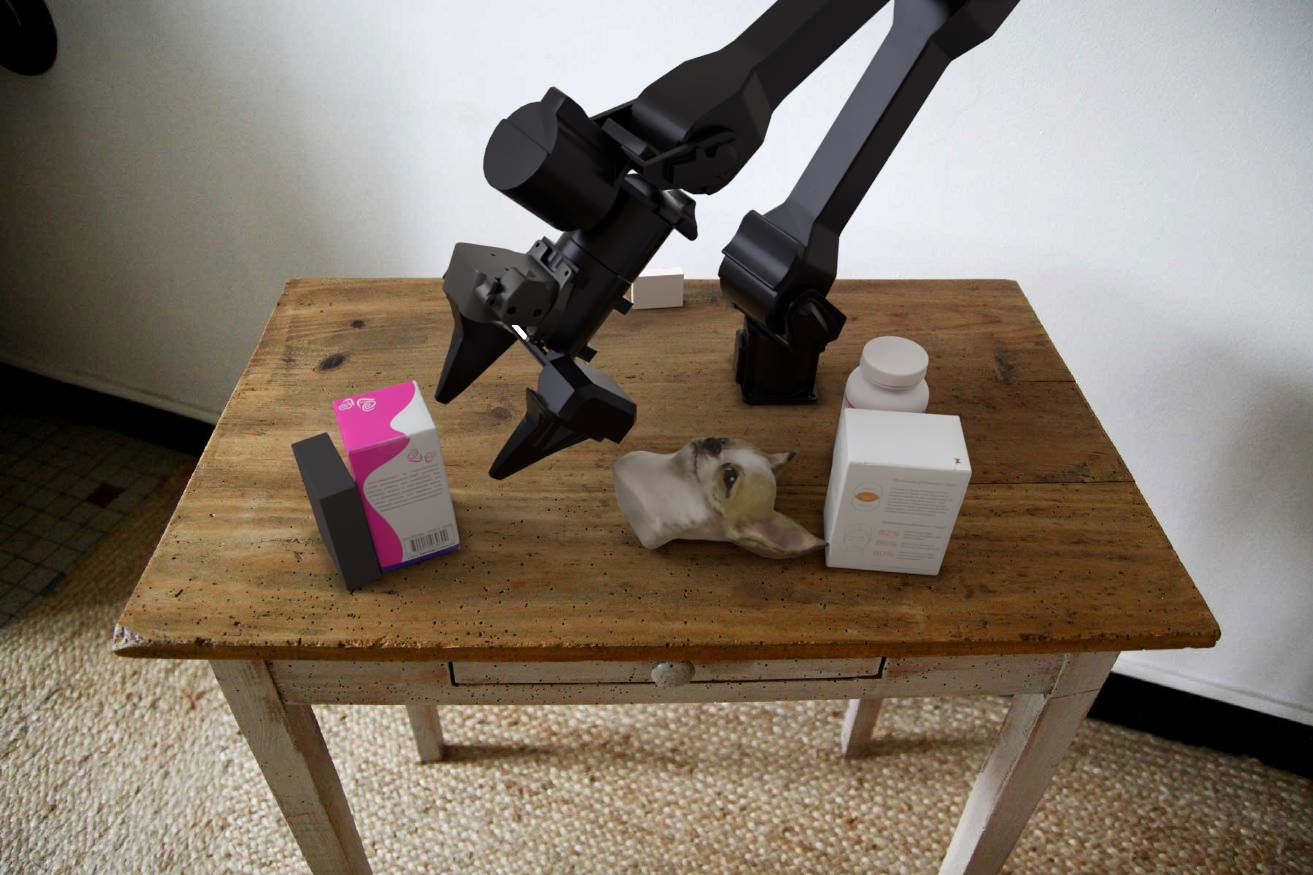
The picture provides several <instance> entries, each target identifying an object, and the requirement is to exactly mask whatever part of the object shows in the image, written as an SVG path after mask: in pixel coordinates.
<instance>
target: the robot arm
mask: <svg viewBox="0 0 1313 875" xmlns="http://www.w3.org/2000/svg"><path fill="white" fill-rule="evenodd" d="M891 1H892V0H776V1H775V2H774V3H773V4H771V5H770V6H769V7H768V8H767V9H766V10H765V11H764V12H762V14H761V15H760V16H759V17H758V18H756V19H755V20H754V21H753V22H752V23H751V24H750V25H749V26H748V27H747V28H746V29H744V30H743V31H742V32H741V33H740V34H739V35H738V36H737V37H736V38H735V39H734V40H732V41H731V42H729V43H727V44H726V45H725V46H723V47H722V48H720V49H719V50H716V51H712V52H710V53H709V52H708V53H707V54H706V53H705V54H702V55H700V56H696V57H692V58H689V59H687V60H684V61H683V62H681V63H679V64H678V65H677V66H675V67H673V68H672V69H670V70H669V71H668V72H666V73H664V74H663V75H662V76H660V77H659V78H657V79H656V80H654V81H653V82H651V83H650V84H648V85H647V86H646V87H645V88H644V89H643V90H642V91H641V92H640V94H638V96H637V97H636V98H633V99H631V100H628V101H626V102H623V103H621V104H619V105H616V106H614V107H612V108H609V109H607V110H604V111H602V112H599V113H597V114H594V115H592V116H588V114H587V112H586V110H584V108H583V106H581V104H579V103H578V102H576V101H575V100H574V99H573V98H572V96H569V95H568V94H566V93H565V92H564V91H562V90H560V89H559V88H558V87H557V86H554V85H553V86H550V87H548V89H547V91H546V92H545V94H544V95H543V96H542V98H541V99H540V100H539V101H533V102H528V103H526V104H524V105H522V106H520V107H518V108H517V109H516V110H514V111H513V112H512V113H510V115H509V116H508V117H506V118H502V119H501V120H500V121H499V122H498V124H497V125H496V126H495V128H494V130H493V131H492V133H491V135H490V136H489V139H488V140H487V141H488V142H487V143H486V147H485V150H484V154H483V159H482V161H483V162H482V171H483V175H484V178H485V180H486V183H487V184H488V185H489V186H490V187H491V188H493V189H494V190H496V191H497V192H499V193H501V194H502V195H503V196H504V197H506V198H508V199H510V200H511V201H512V202H514V203H515V204H517V205H518V206H520V207H521V208H523V209H524V210H526V211H528V212H529V213H531V215H533V216H535V217H536V218H538V219H539V220H541V221H542V222H544V223H546V224H547V225H549V226H550V227H552V228H553V229H555V230H557V231H559V232H562V233H561V235H560V236H559V237H558V239H557V240H556V241H553V240H552V239H550V238H549V237H547V236H546V235H543V236H542V238H541V239H537V240H535V241H534V243H533V245H532V246H531V247H530V249H529V250H528V251H526V252H525V253H524V252H518V251H514V250H512V249H509V248H506V247H505V248H504V247H498V246H491V245H486V244H485V245H484V244H477V243H470V242H465V241H464V242H463V241H460V242H456V243H454V248H453V250H452V254H451V257H450V260H449V264H448V268H447V269H446V271H445V272H444V274H443V275H442V277H441V278H442V279H443V282H442V283H443V284H442V287H441V290H442V291H443V293H444V295H445V298H446V300H448V303H449V306H450V309H451V313H452V318H453V322H454V323H453V324H454V326H453V331H452V335H451V339H450V342H449V347H448V350H447V354H446V357H445V360H444V363H443V367H442V370H441V373H440V377H439V380H438V383H437V386H436V390H435V394H434V399H435V401H436V402H437V403H439V404H442V405H445V406H447V405H449V404H450V403H451V402H452V401H454V399H456V398H457V397H458V396H460V395H461V394H462V393H463V392H464V391H466V390H467V389H468V388H469V387H470V386H471V385H472V384H473V383H474V382H475V381H476V380H477V379H478V378H479V377H480V376H481V375H483V374H484V372H486V371H487V370H488V369H489V368H490V367H491V366H492V365H493V364H494V363H495V362H496V361H497V360H498V359H499V358H500V357H502V356H503V355H504V354H505V353H506V352H507V351H508V350H509V349H510V348H511V347H512V346H513V345H514V344H516V342H517V341H519V342H520V344H522V345H523V346H524V348H525V349H526V350H527V351H528V352H529V354H530V355H531V356H532V357H533V358H534V359H535V360H536V362H537V363H538V364H539V365H540V366H541V368H542V369H541V371H540V372H539V374H538V382H537V390H534V389H532V388H530V387H528V386H527V387H526V388H525V400H526V401H525V402H526V404H525V405H526V412H525V414H524V415H523V417H522V418H521V420H520V421H519V423H518V424H517V425H516V427H515V429H514V431H513V432H512V433H511V435H510V436H509V438H508V439H507V441H506V442H505V444H504V445H503V447H501V449H500V451H499V452H498V454H497V455H496V457H495V459H494V461H493V462H492V465H491V466H490V468H489V470H488V473H487V474H488V476H489V478H491V479H493V480H497V481H503V480H505V479H508V478H509V477H510V476H512V475H515V474H517V473H519V472H520V471H523V470H524V469H526V468H528V467H530V466H532V465H533V464H536V463H538V462H540V461H542V460H543V459H545V458H547V457H550V456H551V455H553V454H555V453H558V452H561V451H562V450H565V449H567V448H568V449H569V448H570V447H572V446H575V445H577V444H580V443H582V442H585V441H587V440H593V441H595V442H597V443H602V442H604V440H608V441H611V442H613V443H615V444H618V445H620V444H621V442H622V441H624V439H625V437H626V436H627V435H628V434H629V432H630V431H631V429H632V428H633V427H634V426H635V424H636V422H637V421H638V406H637V405H638V404H637V403H636V402H635V401H634V400H633V399H632V398H631V397H630V396H629V395H628V393H627V392H626V391H624V389H623V388H622V387H621V386H620V385H619V384H618V383H617V382H616V381H615V380H614V379H613V378H612V376H609V375H608V374H606V373H604V372H602V371H600V370H598V369H596V368H594V367H592V366H590V365H588V364H590V363H591V362H592V360H593V359H594V358H595V356H596V355H597V354H598V350H597V349H596V348H595V347H594V346H593V345H592V344H591V343H590V342H591V340H592V339H593V338H594V336H595V335H596V334H597V332H598V331H599V330H600V328H601V327H602V325H603V324H605V322H606V320H607V319H608V318H609V316H610V315H611V313H612V312H613V311H614V310H615V311H617V312H618V313H620V314H622V315H623V316H626V315H627V314H628V313H629V311H630V310H631V308H633V307H632V306H633V303H632V302H631V301H632V300H631V299H629V298H628V297H627V295H626V294H627V293H628V291H629V290H630V289H631V288H632V283H634V282H635V280H636V279H637V278H638V276H639V275H640V274H641V272H642V271H643V270H644V269H645V268H646V267H647V266H648V264H649V263H650V262H651V261H652V259H653V258H654V256H655V255H656V253H658V251H659V250H660V249H661V247H662V246H663V245H664V243H665V242H666V241H667V239H668V238H669V237H670V236H671V234H672V233H673V231H674V230H675V231H676V232H678V233H679V234H680V235H681V236H683V237H684V238H686V239H687V240H688V241H690V242H694V241H696V240H697V239H698V236H699V231H698V222H697V219H696V207H697V201H696V199H694V198H693V197H691V196H690V195H696V196H697V195H706V196H709V197H710V196H713V195H715V194H717V193H719V192H720V191H722V190H723V189H724V188H725V187H727V186H728V185H730V183H731V182H733V180H734V179H735V178H736V176H738V174H740V172H741V171H742V170H743V168H744V167H745V166H746V165H747V164H748V162H749V161H750V160H751V159H752V158H753V156H754V155H755V154H756V153H757V151H759V149H760V148H761V147H762V145H763V144H764V142H765V139H766V136H767V133H768V129H769V126H770V124H771V119H772V117H773V114H774V112H775V111H776V109H777V108H778V107H779V106H780V105H781V103H783V101H785V99H786V98H787V97H788V96H789V95H791V94H792V92H794V91H795V90H796V89H797V88H798V87H799V86H800V85H801V84H802V83H803V82H804V81H806V79H808V78H809V77H810V76H811V75H812V74H813V73H814V72H815V71H816V70H817V69H819V68H820V66H822V65H823V64H824V63H825V62H826V61H827V60H828V59H829V58H830V57H831V56H833V55H834V54H835V53H836V52H837V51H838V50H839V49H840V48H841V47H842V46H843V45H844V44H846V43H847V42H848V41H849V40H850V39H851V38H852V37H853V36H854V35H855V34H857V32H858V31H859V30H861V29H862V28H863V27H864V26H865V25H866V24H867V23H868V22H869V21H871V19H872V18H873V17H874V16H875V15H877V14H878V13H879V12H880V11H881V10H882V9H884V7H885V6H886V5H887V4H888V3H889V2H891ZM1020 2H1021V0H893V8H892V21H891V26H890V28H889V30H888V32H887V34H886V36H885V37H884V39H883V41H882V42H881V44H880V45H879V47H878V49H877V50H876V52H875V54H874V55H873V57H872V58H871V60H870V61H869V63H868V65H867V67H866V68H865V70H864V71H863V73H862V75H861V76H860V78H859V80H858V82H857V83H856V85H855V86H854V88H853V90H852V91H851V93H850V94H849V96H848V98H847V99H846V101H845V102H844V104H843V106H842V108H841V109H840V111H839V112H838V114H837V116H836V117H835V119H834V121H833V123H832V124H831V126H830V127H829V129H828V131H827V132H826V134H825V136H824V137H823V139H822V140H821V142H820V144H819V145H818V147H817V149H816V150H815V152H814V154H812V157H811V158H810V160H809V161H808V163H807V165H806V167H805V169H804V170H803V172H802V173H801V174H800V176H799V177H798V180H797V181H796V183H795V185H794V186H793V188H792V190H791V191H790V193H789V194H788V196H787V197H786V198H785V200H784V202H782V203H780V204H779V205H776V206H775V207H773V208H771V209H770V210H768V211H767V212H765V213H763V214H761V213H760V212H758V211H757V210H755V209H750V210H749V211H748V212H747V213H745V215H744V216H743V217H742V219H741V221H740V224H739V226H738V228H737V230H736V231H735V234H734V236H733V237H732V238H731V240H730V241H729V242H728V243H727V244H726V245H725V246H724V247H723V248H722V249H721V254H722V255H724V256H723V258H722V260H721V263H720V264H719V267H718V270H717V277H718V278H719V288H720V290H721V293H722V294H723V296H725V297H726V298H727V299H728V300H729V301H730V304H731V305H730V306H731V307H732V308H734V309H735V310H738V311H739V312H740V313H742V314H743V315H744V317H743V325H742V328H737V330H736V331H735V338H734V339H735V341H734V349H733V357H732V358H733V360H732V370H733V377H734V383H735V384H736V385H737V386H739V390H740V396H741V401H742V402H743V403H745V404H815V403H817V402H818V401H819V393H818V389H817V386H816V378H817V372H818V367H819V361H820V355H821V354H822V353H824V352H826V348H827V346H828V344H830V343H832V342H834V341H836V340H838V339H839V337H840V335H841V332H842V330H843V328H844V326H845V324H846V322H847V319H848V316H847V315H846V314H844V313H843V312H842V311H841V310H840V309H838V308H837V307H836V305H834V304H833V303H832V302H830V300H829V299H827V296H828V295H829V293H830V291H831V288H832V287H833V284H835V281H836V280H837V279H836V278H837V275H838V267H839V266H838V264H839V253H840V252H839V249H840V237H841V235H842V233H843V231H844V229H845V228H846V227H847V224H848V223H849V221H850V220H851V219H852V217H853V215H854V214H855V213H856V210H857V209H858V207H859V206H860V204H861V203H862V201H863V199H864V198H865V197H866V195H867V193H868V192H869V190H870V189H871V187H872V185H873V184H874V182H875V181H876V179H877V178H878V176H879V174H880V173H881V171H882V170H883V168H884V167H885V165H886V164H887V162H888V161H889V159H890V157H891V156H892V154H893V152H894V151H895V149H896V148H897V146H898V145H899V143H900V142H901V140H902V138H904V136H905V134H906V132H907V130H908V129H909V128H910V126H911V124H912V123H913V121H914V119H915V118H916V116H917V115H918V113H919V112H920V110H921V109H922V107H923V106H924V104H925V102H926V100H928V98H929V96H930V95H931V93H932V91H933V90H934V88H935V87H936V85H937V84H938V81H939V80H940V79H941V77H942V76H943V74H944V73H945V71H946V69H947V68H948V67H949V66H950V64H951V63H952V62H953V61H955V60H956V59H958V58H959V57H962V56H963V55H965V54H966V53H968V52H969V51H971V50H973V49H974V48H976V47H978V46H979V45H981V44H983V43H984V42H986V41H988V40H989V39H991V38H992V37H993V36H994V35H995V34H996V32H997V31H998V30H999V29H1000V28H1001V26H1002V25H1003V24H1004V22H1005V21H1006V20H1007V19H1008V17H1009V16H1011V14H1012V12H1013V11H1014V9H1015V8H1016V7H1017V6H1018V4H1019V3H1020ZM631 171H633V173H632V172H631ZM630 172H631V173H630ZM687 193H688V194H690V195H688V194H687ZM546 350H547V351H546ZM576 358H578V359H576ZM579 359H581V360H582V361H583V362H582V361H581V360H579ZM584 362H586V363H588V364H586V363H584Z"/></svg>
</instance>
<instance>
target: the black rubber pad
mask: <svg viewBox="0 0 1313 875" xmlns="http://www.w3.org/2000/svg"><path fill="white" fill-rule="evenodd" d="M290 446H291V450H292V452H293V455H294V458H295V461H296V465H297V467H298V471H299V474H300V477H301V480H302V483H303V486H304V489H305V492H306V495H307V498H308V501H309V505H310V507H311V510H312V514H313V517H314V519H315V522H316V525H317V528H318V532H319V535H320V538H321V540H322V541H323V544H324V545H325V547H326V550H327V551H328V553H329V556H330V558H331V560H332V562H333V564H334V567H335V568H336V570H337V572H338V574H339V577H340V578H341V581H342V582H343V584H344V587H345V589H346V590H347V592H350V591H352V590H355V589H357V588H360V587H362V586H364V585H366V584H370V583H371V582H374V581H376V580H379V579H381V578H382V574H381V569H380V566H379V563H378V560H377V557H376V554H375V551H374V547H373V544H372V540H371V537H370V533H369V529H368V526H367V522H366V518H365V515H364V511H363V507H362V504H361V500H360V496H359V493H358V489H357V486H356V484H355V481H354V478H353V476H352V475H351V472H350V471H349V469H348V468H347V466H346V464H345V462H344V461H343V459H342V456H341V454H340V453H339V451H338V450H337V447H336V445H335V444H334V442H333V440H332V439H331V437H330V434H329V433H328V432H327V431H325V432H322V433H319V434H316V435H314V436H310V437H308V438H305V439H302V440H299V441H296V442H293V443H291V444H290Z"/></svg>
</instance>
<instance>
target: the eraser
mask: <svg viewBox="0 0 1313 875" xmlns="http://www.w3.org/2000/svg"><path fill="white" fill-rule="evenodd" d="M684 282H685V272H684V268H683V267H682V266H681V267H680V266H679V267H663V268H647V269H645V268H644V270H643V271H642V272H641V274H640V275H639V276H638V278H637V279H636V280H635V282H634V283H632V286H631V300H630V301H631V302H632V303H633V306H632V307H631V308H632V310H644V309H661V308H675V307H677V308H678V307H683V303H684V284H685V283H684Z"/></svg>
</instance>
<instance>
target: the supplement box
mask: <svg viewBox="0 0 1313 875" xmlns="http://www.w3.org/2000/svg"><path fill="white" fill-rule="evenodd" d="M332 406H333V411H334V414H335V418H336V422H337V425H338V428H339V432H340V436H341V440H342V443H343V446H344V450H345V453H346V456H347V460H348V464H349V467H350V471H351V474H352V479H353V480H354V482H355V484H356V486H357V489H358V493H359V496H360V500H361V504H362V507H363V511H364V515H365V518H366V522H367V526H368V529H369V533H370V537H371V540H372V544H373V548H374V551H375V555H376V558H377V562H378V566H379V569H380V572H382V573H387V572H391V571H393V570H397V569H400V568H403V567H407V566H410V565H413V564H416V563H418V562H423V561H426V560H429V559H432V558H435V557H438V556H441V555H442V556H443V555H445V554H447V553H451V552H455V551H459V550H461V542H460V535H459V530H458V526H457V520H456V514H455V510H454V505H453V501H452V496H451V490H450V486H449V482H448V476H447V470H446V465H445V461H444V456H443V451H442V446H441V441H440V435H439V432H438V431H439V430H438V426H437V424H436V422H435V420H434V418H433V415H432V414H431V412H430V409H429V407H428V404H427V403H426V400H425V398H424V396H423V394H422V392H421V390H420V387H419V385H418V383H417V380H411V381H407V382H404V383H403V382H402V383H400V384H396V385H392V386H387V387H385V388H380V389H376V390H372V391H368V392H364V393H360V394H356V395H353V396H348V397H344V398H341V399H336V400H333V401H332Z"/></svg>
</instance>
